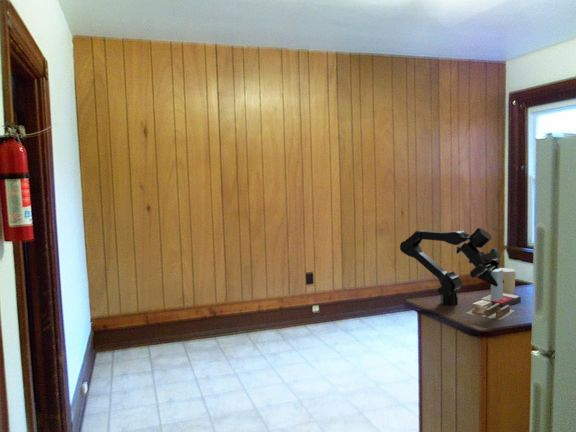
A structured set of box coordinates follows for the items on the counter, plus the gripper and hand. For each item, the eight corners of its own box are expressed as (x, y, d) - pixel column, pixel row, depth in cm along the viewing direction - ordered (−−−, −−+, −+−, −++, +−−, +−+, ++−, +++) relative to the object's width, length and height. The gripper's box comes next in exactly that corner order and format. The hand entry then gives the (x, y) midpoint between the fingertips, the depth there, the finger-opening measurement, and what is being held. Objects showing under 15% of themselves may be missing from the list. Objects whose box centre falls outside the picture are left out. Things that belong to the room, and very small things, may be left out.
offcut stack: (471, 311, 192) (471, 303, 192) (480, 306, 198) (480, 299, 198) (484, 314, 188) (484, 306, 188) (493, 309, 195) (493, 301, 194)
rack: (465, 315, 191) (465, 307, 190) (481, 307, 202) (481, 299, 201) (499, 322, 181) (499, 314, 180) (515, 313, 192) (515, 304, 191)
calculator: (478, 298, 204) (497, 290, 213) (479, 307, 205) (498, 299, 213) (502, 303, 195) (521, 295, 204) (502, 312, 196) (521, 304, 204)
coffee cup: (507, 291, 226) (508, 267, 225) (520, 296, 217) (520, 271, 216) (490, 292, 225) (490, 268, 224) (501, 297, 215) (502, 272, 214)
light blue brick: (490, 300, 188) (490, 271, 186) (496, 296, 192) (496, 268, 191) (497, 301, 186) (497, 272, 185) (502, 297, 190) (503, 269, 189)
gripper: (477, 245, 183) (506, 276, 176) (496, 239, 196) (523, 268, 189) (458, 262, 189) (485, 293, 182) (478, 256, 202) (503, 284, 195)
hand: (500, 284), depth 187 cm, fingers closed on light blue brick, 6 cm apart
